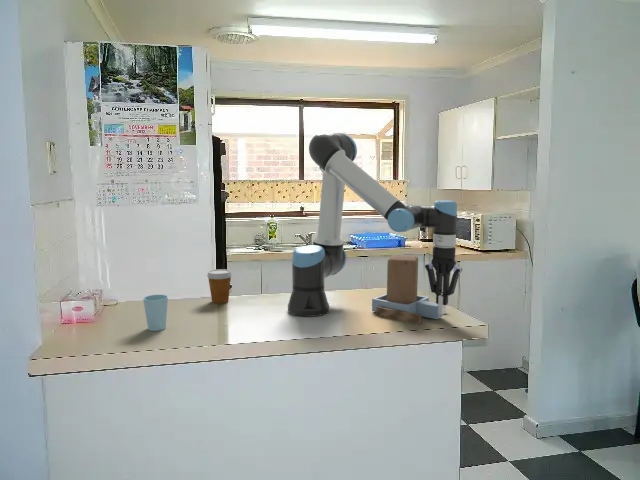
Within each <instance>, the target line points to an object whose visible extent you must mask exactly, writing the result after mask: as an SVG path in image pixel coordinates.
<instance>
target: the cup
mask: <svg viewBox="0 0 640 480" xmlns="http://www.w3.org/2000/svg"><path fill="white" fill-rule="evenodd" d="M142 300H143V305H144V312H145V319H146V325H147V329H148V331H150V332H151V331H152V332H158V331H163V330H165V329H166V327H167V318H168V317H167V315H168V314H167V313H168V302H169V301H168V300H169V296H168V295H166V294H151V295H146V296H144V297H143V298H142Z"/></svg>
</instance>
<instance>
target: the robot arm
mask: <svg viewBox="0 0 640 480" xmlns="http://www.w3.org/2000/svg"><path fill="white" fill-rule="evenodd" d="M308 153H309V156H310V158H311V160H312V161H313V162H314V163H315V164H316V165H317V166H319V171H320V172H321V173H322V180H321V192H320V193H321V194H320V204H319V205H320V206H319V216H318V226H317V227H318V228H317V236H316V237H315V238H314V239H313V240H312V244H309V245H302V246H299V247H297V248H295V249H294V250H293V252H292V257H291V263H292V264H291V265H292V268H291V269H292V270H291V272H292V281H291V282H292V290H291V293H290V298H289V301H288V304H287V312H288V313H289V314H291V315H293V316H299V317H317V316H323V315H326V314H328V313H329V312H330V303H329V302H328V298H327V295H326V291H325V279H327V278H328V277H331V276H334V275H336V274H338V273H340V271H342V270H343V269H344V268H345V266H346V263H347V253H346V252H347V251H345V249H344V241H343V240H342V239H341V229H342V222H343V221H342V220H343V219H342V218H343V208H344V198H345V189H346V188H345V186H346V187H347V188H349V189H350V190H351V191H352V192H353V193H354V194H355V195H357V196H358V197H359V198H360V199H362V200H363V201H364V203H366V205H367V204H368V205H369V206H370V207H371V208H372V209H373V210H375V212H377V213H378V214H379V215H380V216H382V217H383V218H384V219H385V220H386V221H387V224H388V227H389V228H390V229H391V230H392V231H393V232H397V233H405V232H406V233H407V232H408V231H410V230H414V229H417V228H422V229H423V228H428V229H433V230H432V233H433V235H432V236H433V237H432V238H433V239H432V241H433V242H432V244H433V245H434V246H433V247H432V259H431V262H430V263H427V264H425V265H424V268H425V269H426V271H427V275H428V282H429V288H430V293H434V294H435V302H436V304H438V314H440V315H442V316H443V315H444V314H446V306H448V304H449V296H452V295H453V294H455V290H456V288H457V283H458V279H459V276H460V274H461V273H462V271H463V268H462V267H459V266H457V263H456V244H457V221H458V219H457V218H458V206H457V205H458V204H457V202H456V201H454V200H449V199H448V200H444V199H443V200H442V199H441V200H439V199H438V200H435V201H434V204H433V205H419V204H418V205H416V204H404V203H403V202H402V201H400V200H399V199H398V198H397V197H396V196H394V195H393V194H392V193H391V192H390V191H389V190H387V188H385V187H384V186H383V185H381V183H379V182H378V181H376V179H374V178H373V177H372V176H371V175H369V174H368V173H367V172H366V171H365V170H364V169H362V168H361V167H360V166H359V165H357V164H356V163H355V162H354V161H355V160H356V157H357V155H358V154H357V153H358V147H357V144H356V142H355V140H354V139H353V138H352V137H351V135H347V134H345V133H342V132H333V131H332V132H331V131H321V132H318V133H317V134H316V133H315V134H314V136H312V138H311V140H310V141H309V145H308ZM452 271H453V273H452V276H451V272H452ZM450 278H451V279H450Z"/></svg>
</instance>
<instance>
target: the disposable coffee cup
mask: <svg viewBox="0 0 640 480" xmlns="http://www.w3.org/2000/svg"><path fill="white" fill-rule="evenodd" d="M232 275H233V274H232V271H231V270H229V269H227V268H226V269H225V268H223V269H222V268H220V269H219V268H218V269H211V270H208V272H207V275H206V276H207V279H208V283H209V284H208V286H209V290H210V297H211V303H213V304H217V305H218V304H226V303H228V302H229V299H230V297H229V296H230V291H231V290H230V289H231V278H232Z"/></svg>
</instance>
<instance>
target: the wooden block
mask: <svg viewBox="0 0 640 480" xmlns="http://www.w3.org/2000/svg"><path fill="white" fill-rule="evenodd" d="M386 265H387V266H386V267H387V271H386V272H387V273H386V275H387V276H386V277H387V279H386V294H387V301H390V302H396V303H401V304H406V305H408V304H411V303H413V302H416V301H417V295H418V284H419V283H418V277H419V258H418V256H416V255H398V254H394V255H393V254H392V255H391V256H390V257H389V258H388V259H387V264H386Z"/></svg>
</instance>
